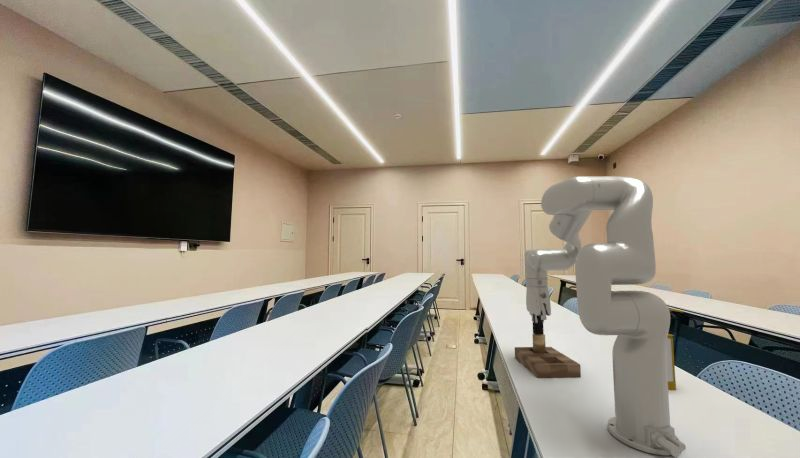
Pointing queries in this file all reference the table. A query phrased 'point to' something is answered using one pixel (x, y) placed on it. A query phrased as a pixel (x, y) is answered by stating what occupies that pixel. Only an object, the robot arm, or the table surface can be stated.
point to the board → (548, 363)
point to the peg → (539, 343)
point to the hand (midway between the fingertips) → (538, 333)
